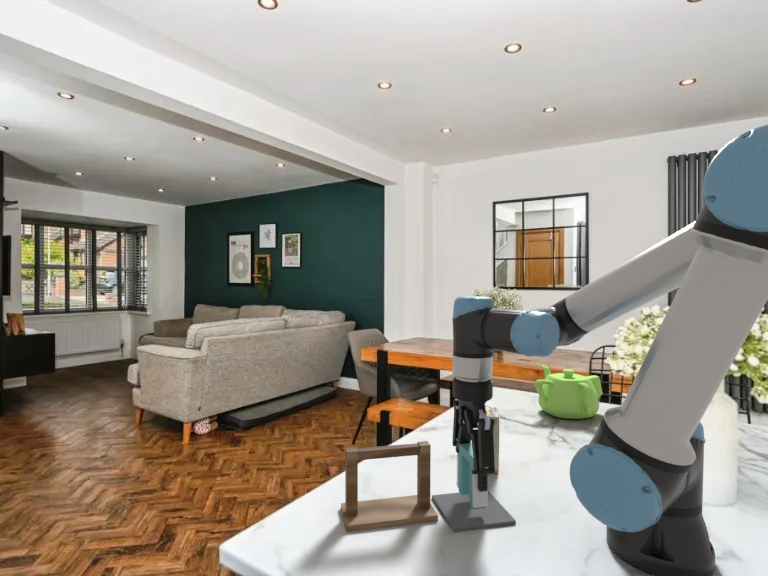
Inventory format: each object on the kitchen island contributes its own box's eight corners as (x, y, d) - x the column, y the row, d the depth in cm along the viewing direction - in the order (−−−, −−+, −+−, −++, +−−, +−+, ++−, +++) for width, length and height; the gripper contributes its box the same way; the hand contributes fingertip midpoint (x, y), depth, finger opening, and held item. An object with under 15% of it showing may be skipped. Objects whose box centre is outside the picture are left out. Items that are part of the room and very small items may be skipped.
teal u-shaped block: (485, 508, 82) (486, 456, 82) (473, 509, 82) (473, 458, 81) (470, 490, 89) (470, 442, 89) (458, 491, 88) (459, 443, 88)
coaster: (515, 523, 81) (515, 520, 81) (453, 531, 78) (453, 528, 78) (486, 492, 92) (486, 489, 92) (431, 498, 90) (431, 495, 90)
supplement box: (499, 474, 101) (500, 417, 100) (478, 472, 102) (478, 415, 101) (497, 459, 109) (498, 406, 109) (477, 457, 110) (478, 405, 109)
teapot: (594, 426, 132) (595, 379, 132) (527, 415, 143) (527, 371, 143) (602, 410, 148) (603, 367, 148) (541, 401, 159) (541, 361, 158)
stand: (437, 520, 82) (438, 450, 81) (346, 531, 78) (346, 458, 78) (424, 499, 90) (425, 435, 89) (341, 508, 86) (340, 442, 86)
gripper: (516, 389, 76) (515, 521, 76) (470, 365, 95) (469, 471, 96) (475, 391, 74) (474, 527, 75) (436, 367, 93) (436, 474, 94)
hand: (471, 495), depth 85 cm, fingers closed on teal u-shaped block, 7 cm apart
